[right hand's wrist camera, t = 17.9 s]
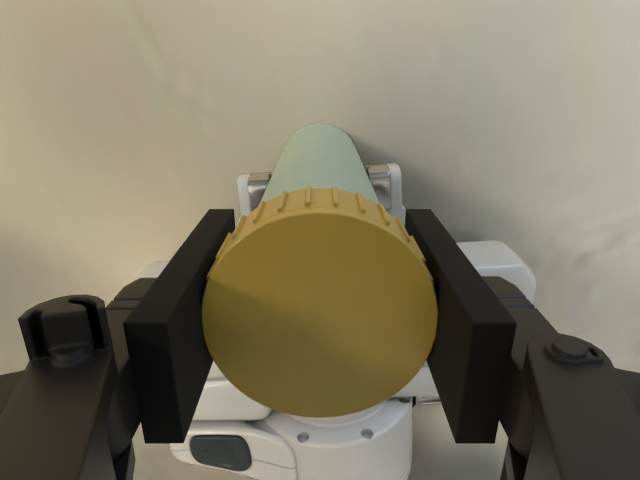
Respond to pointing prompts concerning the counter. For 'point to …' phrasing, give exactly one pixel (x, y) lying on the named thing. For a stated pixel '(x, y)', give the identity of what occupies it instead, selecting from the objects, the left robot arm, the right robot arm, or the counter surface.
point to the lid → (319, 304)
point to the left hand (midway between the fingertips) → (317, 170)
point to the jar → (319, 163)
